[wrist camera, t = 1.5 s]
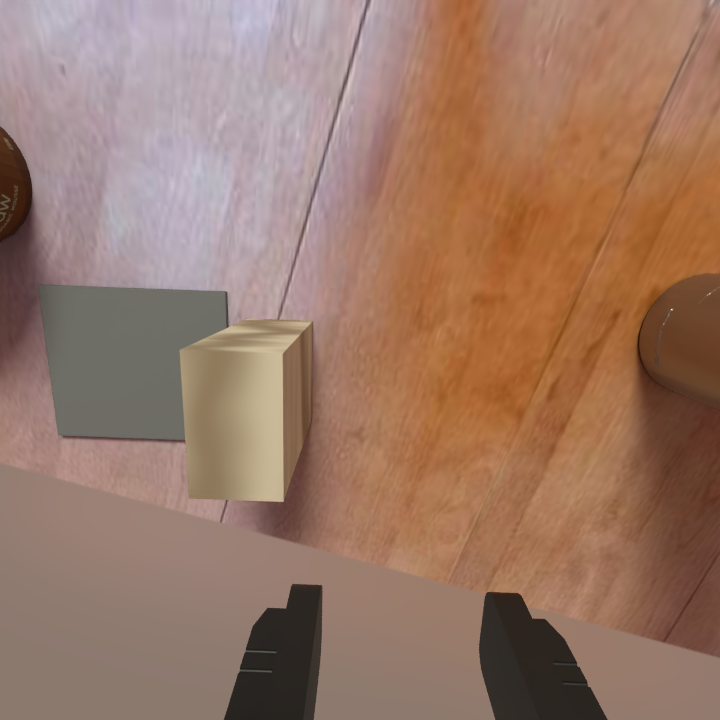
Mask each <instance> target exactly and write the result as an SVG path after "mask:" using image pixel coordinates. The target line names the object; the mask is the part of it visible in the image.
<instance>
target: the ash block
mask: <svg viewBox="0 0 720 720" xmlns="http://www.w3.org/2000/svg"><path fill="white" fill-rule="evenodd" d="M312 345H313V321H300V320H272V319H246V320H243V321H241V322H239V323H237V324H235V325H233V326H230V327H228V328H226V329H224V330H222V331H220V332H217V333H215V334H213V335H211V336H209V337H207V338H205V339H202V340H200V341H198V342H196V343H194V344H192V345H189V346H187V347H185V348H183V349H181V350H180V365H181V381H182V396H183V412H184V428H185V443H186V459H187V475H188V490H189V498H192V499H219V500H245V501H272V502H284V499H285V496H286V493H287V490H288V488H289V485H290V482H291V479H292V476H293V473H294V470H295V467H296V464H297V461H298V458H299V455H300V452H301V449H302V447H303V444H304V441H305V438H306V435H307V432H308V429H309V426H310V423H311V420H312Z"/></svg>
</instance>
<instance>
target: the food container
mask: <svg viewBox="0 0 720 720" xmlns="http://www.w3.org/2000/svg"><path fill="white" fill-rule="evenodd" d="M31 198H32V184H31V178H30V173H29V170H28V167H27V164H26V161H25V159H24V157H23V155H22V153H21V151H20V149H19V148H18V146H17V145H16V143H15V142H14V141H13V139H12V138H11V137H10V136H9V135H8V133H7V132H6V131H5V130H4V129H3V128H2V127H0V242H1V241H3V240H4V239H6V238H8V237H10V236H11V235H13V234H15V232H16V231H17V230H18V229H19V228H20V226H21V225H22V224H23V223H24V221H25V219H26V217H27V215H28V212H29V209H30V205H31Z"/></svg>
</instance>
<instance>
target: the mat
mask: <svg viewBox="0 0 720 720" xmlns="http://www.w3.org/2000/svg"><path fill="white" fill-rule="evenodd" d="M38 290H39V298H40V305H41V312H42V320H43V327H44V334H45V342H46V349H47V356H48V364H49V371H50V378H51V386H52V393H53V400H54V408H55V415H56V422H57V430H58V435H64V436H91V437H118V438H145V439H172V440H185V428H184V412H183V396H182V381H181V365H180V350H181V349H183V348H185V347H187V346H189V345H192V344H194V343H196V342H198V341H200V340H202V339H205V338H207V337H209V336H211V335H213V334H215V333H217V332H220V331H222V330H224V329H226V328H228V309H227V292H225V291H197V290H169V289H142V288H114V287H86V286H59V285H38Z"/></svg>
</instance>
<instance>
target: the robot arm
mask: <svg viewBox="0 0 720 720" xmlns="http://www.w3.org/2000/svg"><path fill="white" fill-rule="evenodd" d="M639 349H640V355H641V359H642V362H643V364H644V367H645V369H646V370H647V372H648V373H649V375H650V376H651V377H652V378H653V379H654V380H655V381H656V382H657V383H659V384H660V385H661V386H663V387H665V388H667V389H669V390H672V391H674V392H676V393H679V394H681V395H684V396H686V397H689V398H691V399H694V400H696V401H699V402H701V403H703V404H705V405H708V406H710V407H712V408H715V409H717V410H720V274H703V275H697V276H693V277H691V278H688V279H685V280H683V281H681V282H679V283H677V284H676V285H674V286H672V287H671V288H669V289H668V290H667V291H666V292H665V293H664V294H662V295H661V296H660V297H659V298H658V299H657V301H656V302H655V303H654V304H653V306H652V307H651V308H650V310H649V312H648V314H647V316H646V318H645V319H644V322H643V325H642V329H641V332H640V341H639ZM321 636H322V585H303V584H302V585H301V584H293V585H292V586H291V590H290V595H289V599H288V603H287V608H286V609H280V608H267V609H266V611H265V612H264V613H263V614H262V616H261V617H260V618H259V619H258V621H257V622H256V623H255V624H254V626H253V628H252V631H251V634H250V637H249V641H248V644H247V647H246V652H245V654H244V657H243V660H242V664H241V666H240V672H239V673H238V676H237V679H236V683H235V686H234V689H233V692H232V696H231V699H230V702H229V706H228V708H227V712H226V715H225V718H224V720H313V719H314V712H315V703H316V694H317V685H318V676H319V667H320V656H321V638H322V637H321ZM479 654H480V664H481V670H482V673H483V678H484V681H485V685H486V688H487V692H488V695H489V699H490V702H491V706H492V709H493V713H494V716H495V720H607V718H606V716H605V714H604V712H603V710H602V709H601V707H600V705H599V703H598V701H597V699H596V697H595V695H594V694H593V692H592V690H591V688H590V687H588V684H587V680H586V679H585V677H584V675H583V673H582V671H581V669H580V667H578V666H577V662H576V660H575V658H574V656H573V654H572V652H571V650H570V649H569V647H568V645H567V643H566V641H565V639H564V638H563V637H562V636H561V635H560V634H559V633H558V632H557V631H556V630H555V629H554V628H553V627H552V626H551V625H550V624H549V623H548V622H547V621H546V620H545V619H532V617H531V615H530V613H529V611H528V608H527V606H526V604H525V602H524V600H523V598H522V596H521V595H520V594H518V593H500V592H487V593H486V596H485V601H484V610H483V618H482V626H481V634H480V643H479Z"/></svg>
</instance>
